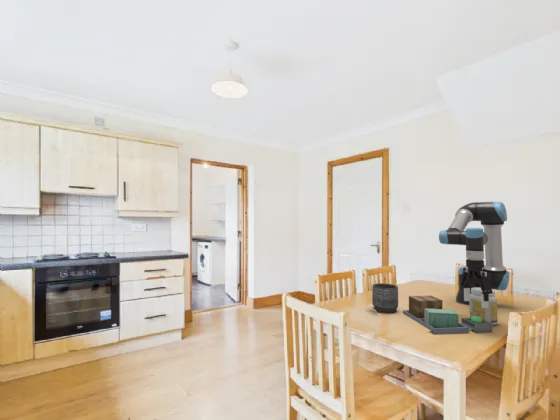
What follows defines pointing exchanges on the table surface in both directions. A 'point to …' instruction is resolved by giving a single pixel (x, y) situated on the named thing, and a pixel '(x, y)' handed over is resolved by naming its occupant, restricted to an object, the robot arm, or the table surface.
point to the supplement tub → (485, 313)
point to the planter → (385, 297)
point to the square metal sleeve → (477, 325)
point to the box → (441, 318)
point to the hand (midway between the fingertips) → (475, 304)
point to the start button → (476, 319)
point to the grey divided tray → (436, 330)
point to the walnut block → (423, 304)
